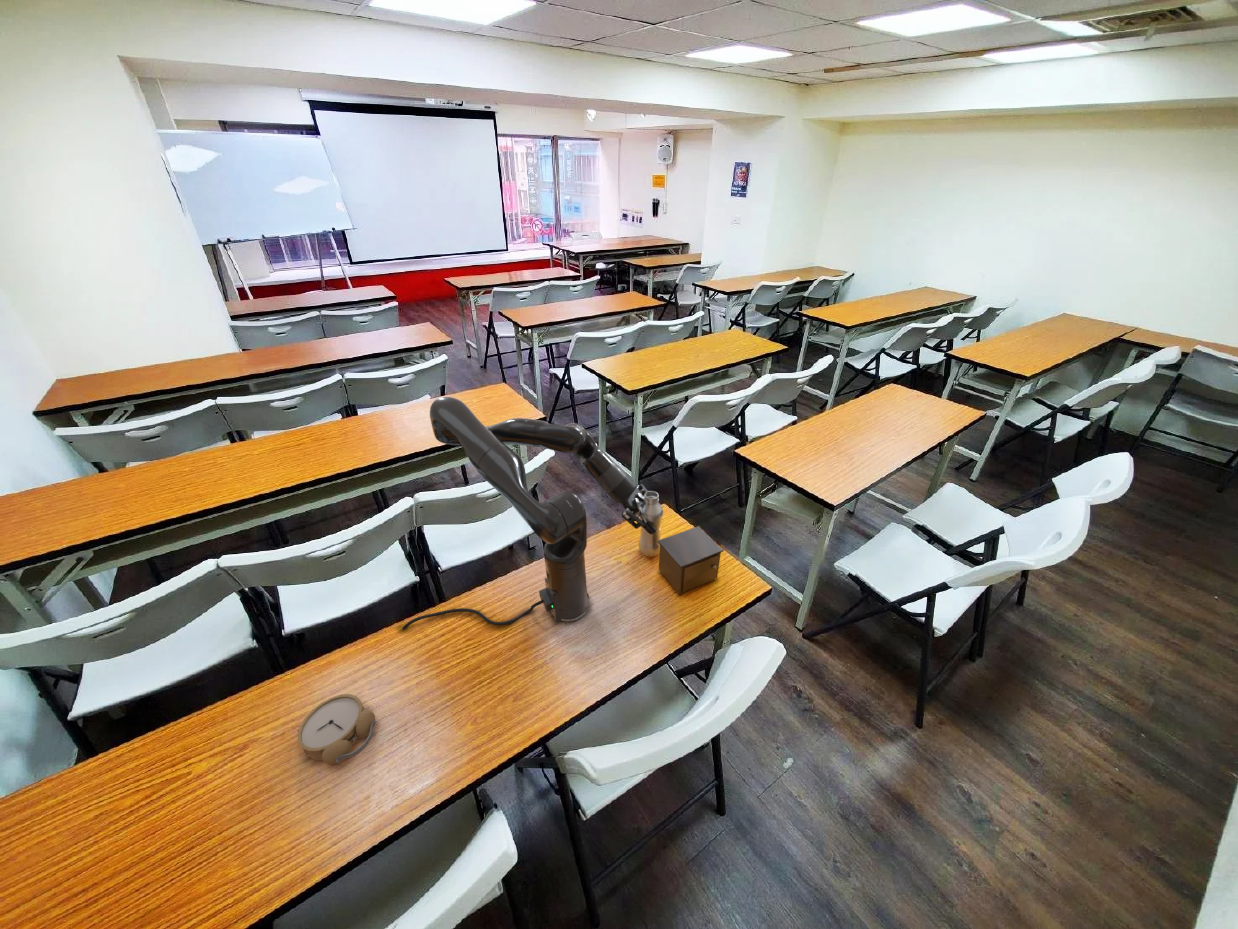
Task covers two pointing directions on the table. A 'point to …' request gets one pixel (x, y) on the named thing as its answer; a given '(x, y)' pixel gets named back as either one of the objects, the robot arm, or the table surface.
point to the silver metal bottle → (654, 516)
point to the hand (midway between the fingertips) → (656, 524)
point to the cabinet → (689, 559)
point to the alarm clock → (336, 729)
